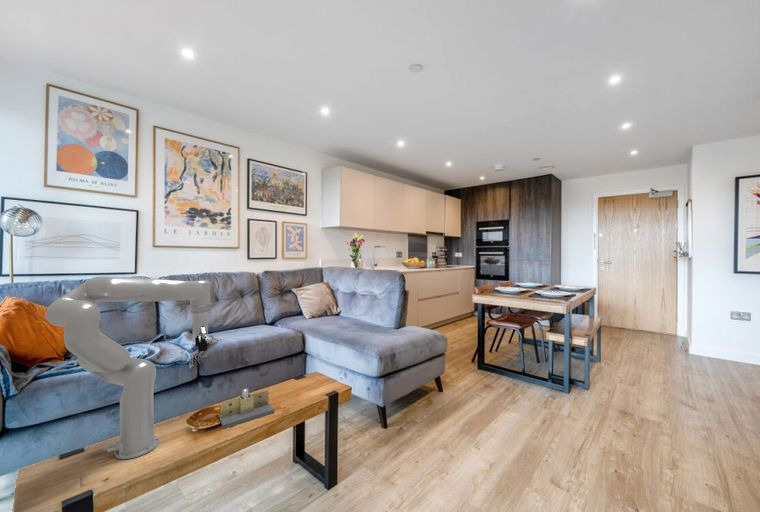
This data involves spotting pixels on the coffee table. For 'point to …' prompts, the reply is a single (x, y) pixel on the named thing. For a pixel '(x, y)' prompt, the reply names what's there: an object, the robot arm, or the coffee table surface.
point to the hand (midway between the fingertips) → (201, 348)
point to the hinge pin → (244, 393)
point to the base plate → (246, 416)
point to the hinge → (244, 404)
